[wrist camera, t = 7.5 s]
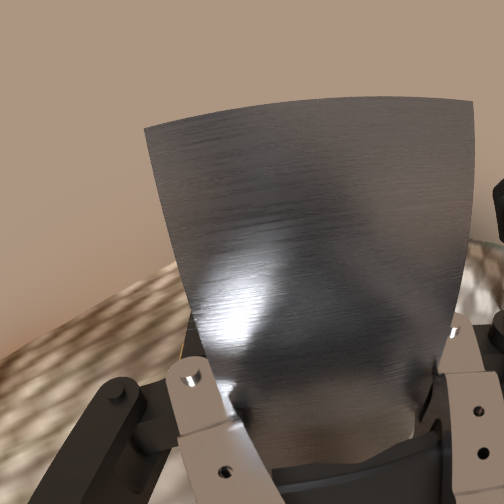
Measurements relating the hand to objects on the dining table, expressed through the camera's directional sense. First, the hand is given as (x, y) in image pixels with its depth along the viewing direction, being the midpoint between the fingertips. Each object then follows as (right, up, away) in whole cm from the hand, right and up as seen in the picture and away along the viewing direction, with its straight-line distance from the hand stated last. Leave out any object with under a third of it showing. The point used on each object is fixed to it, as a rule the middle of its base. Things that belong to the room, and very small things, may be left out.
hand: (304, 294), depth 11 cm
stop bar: (+1, -8, +1) cm, 8 cm away
